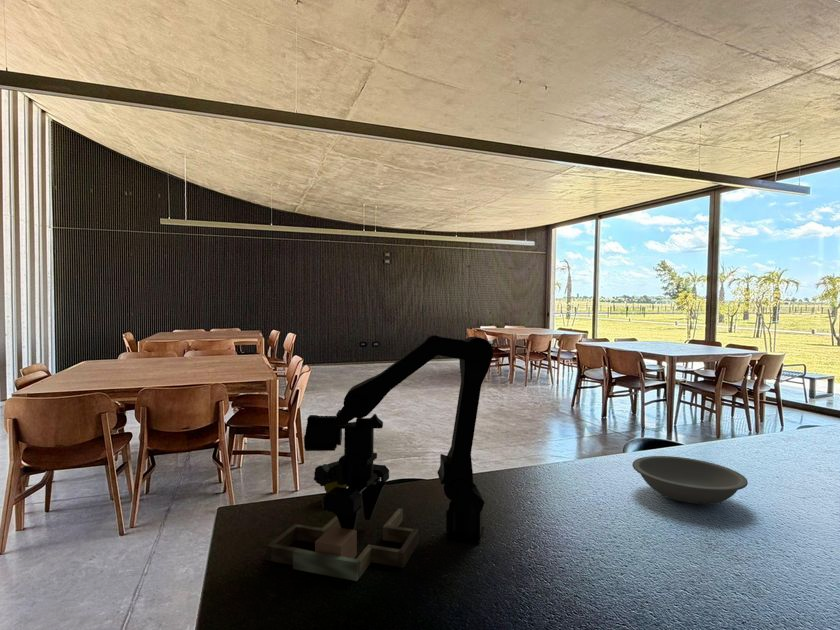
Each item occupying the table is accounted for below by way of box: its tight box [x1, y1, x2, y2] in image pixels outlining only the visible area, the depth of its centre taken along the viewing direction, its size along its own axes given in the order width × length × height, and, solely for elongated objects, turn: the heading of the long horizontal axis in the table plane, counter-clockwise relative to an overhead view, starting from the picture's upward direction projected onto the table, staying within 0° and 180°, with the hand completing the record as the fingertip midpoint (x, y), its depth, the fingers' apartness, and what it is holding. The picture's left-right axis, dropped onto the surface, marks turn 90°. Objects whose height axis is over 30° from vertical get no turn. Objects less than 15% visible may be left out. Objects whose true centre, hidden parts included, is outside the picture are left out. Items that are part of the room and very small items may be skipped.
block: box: [314, 526, 358, 559], centre depth 78 cm, size 5×6×4 cm
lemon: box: [323, 481, 348, 494], centre depth 106 cm, size 6×6×8 cm
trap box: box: [266, 507, 420, 582], centre depth 85 cm, size 24×23×3 cm
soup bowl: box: [632, 455, 749, 505], centre depth 108 cm, size 24×24×7 cm
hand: (358, 529), depth 87 cm, fingers open, 9 cm apart
